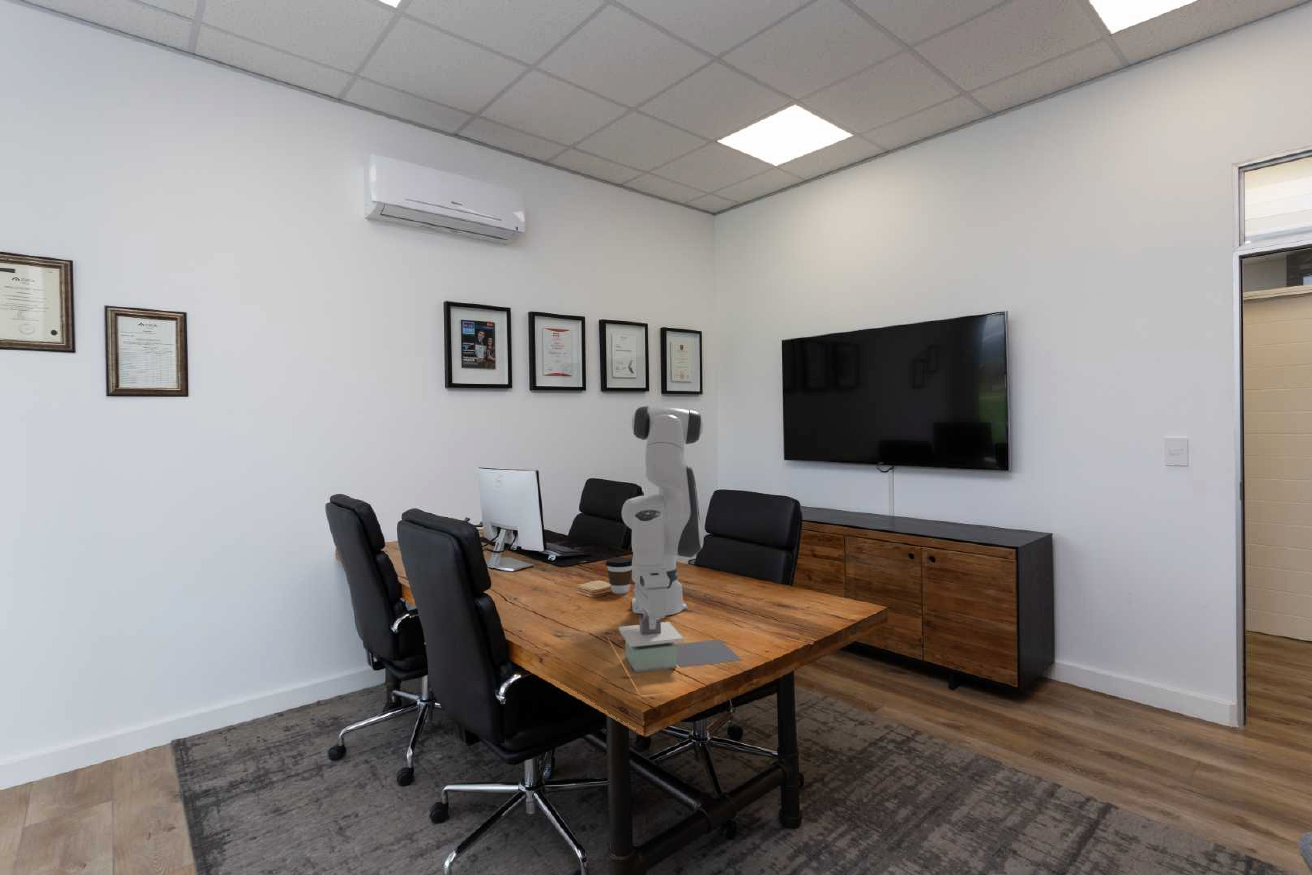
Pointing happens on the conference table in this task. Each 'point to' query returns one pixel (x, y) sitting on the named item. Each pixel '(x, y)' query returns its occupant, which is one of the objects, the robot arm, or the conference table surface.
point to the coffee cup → (619, 574)
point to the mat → (704, 653)
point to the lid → (650, 633)
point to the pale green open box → (651, 657)
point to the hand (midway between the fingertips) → (649, 625)
